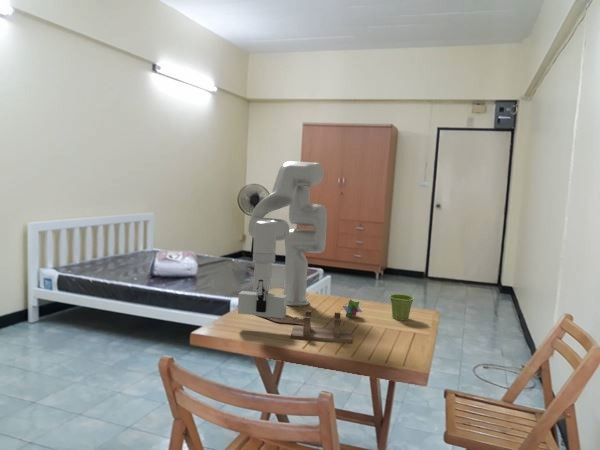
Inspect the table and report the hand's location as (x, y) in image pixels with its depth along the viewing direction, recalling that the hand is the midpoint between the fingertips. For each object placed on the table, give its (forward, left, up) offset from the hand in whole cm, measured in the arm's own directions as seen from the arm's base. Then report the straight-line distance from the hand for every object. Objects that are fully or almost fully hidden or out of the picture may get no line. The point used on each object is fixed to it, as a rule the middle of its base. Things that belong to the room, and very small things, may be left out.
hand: (262, 309), depth 163 cm
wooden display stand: (+2, +21, -7) cm, 22 cm away
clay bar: (0, 0, -2) cm, 2 cm away
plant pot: (-27, +51, -7) cm, 58 cm away
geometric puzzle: (-24, +32, -7) cm, 41 cm away
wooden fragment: (-14, +5, -8) cm, 17 cm away
